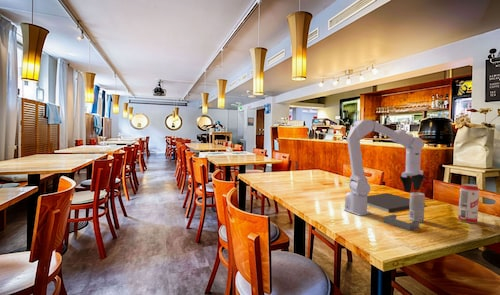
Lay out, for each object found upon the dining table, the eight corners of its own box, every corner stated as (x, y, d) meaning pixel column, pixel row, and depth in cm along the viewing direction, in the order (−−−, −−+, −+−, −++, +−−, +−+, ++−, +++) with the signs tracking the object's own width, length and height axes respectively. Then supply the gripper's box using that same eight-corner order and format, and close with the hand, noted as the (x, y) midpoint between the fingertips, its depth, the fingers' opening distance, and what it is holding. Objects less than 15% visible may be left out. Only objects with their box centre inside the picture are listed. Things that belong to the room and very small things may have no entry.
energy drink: (420, 219, 108) (422, 192, 108) (425, 223, 103) (427, 195, 103) (407, 217, 110) (408, 191, 109) (411, 222, 105) (412, 194, 104)
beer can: (454, 219, 108) (456, 183, 107) (463, 218, 110) (465, 182, 109) (471, 224, 102) (474, 186, 101) (480, 222, 104) (483, 185, 103)
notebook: (388, 213, 117) (424, 206, 129) (388, 208, 117) (425, 202, 129) (352, 201, 137) (387, 196, 149) (353, 197, 137) (387, 193, 148)
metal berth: (384, 222, 104) (384, 216, 104) (393, 219, 107) (393, 214, 107) (409, 231, 95) (410, 224, 95) (419, 227, 98) (419, 221, 98)
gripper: (413, 164, 108) (412, 194, 109) (430, 162, 115) (429, 190, 116) (397, 162, 114) (396, 191, 115) (414, 160, 121) (413, 187, 122)
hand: (412, 190), depth 116 cm, fingers open, 7 cm apart
